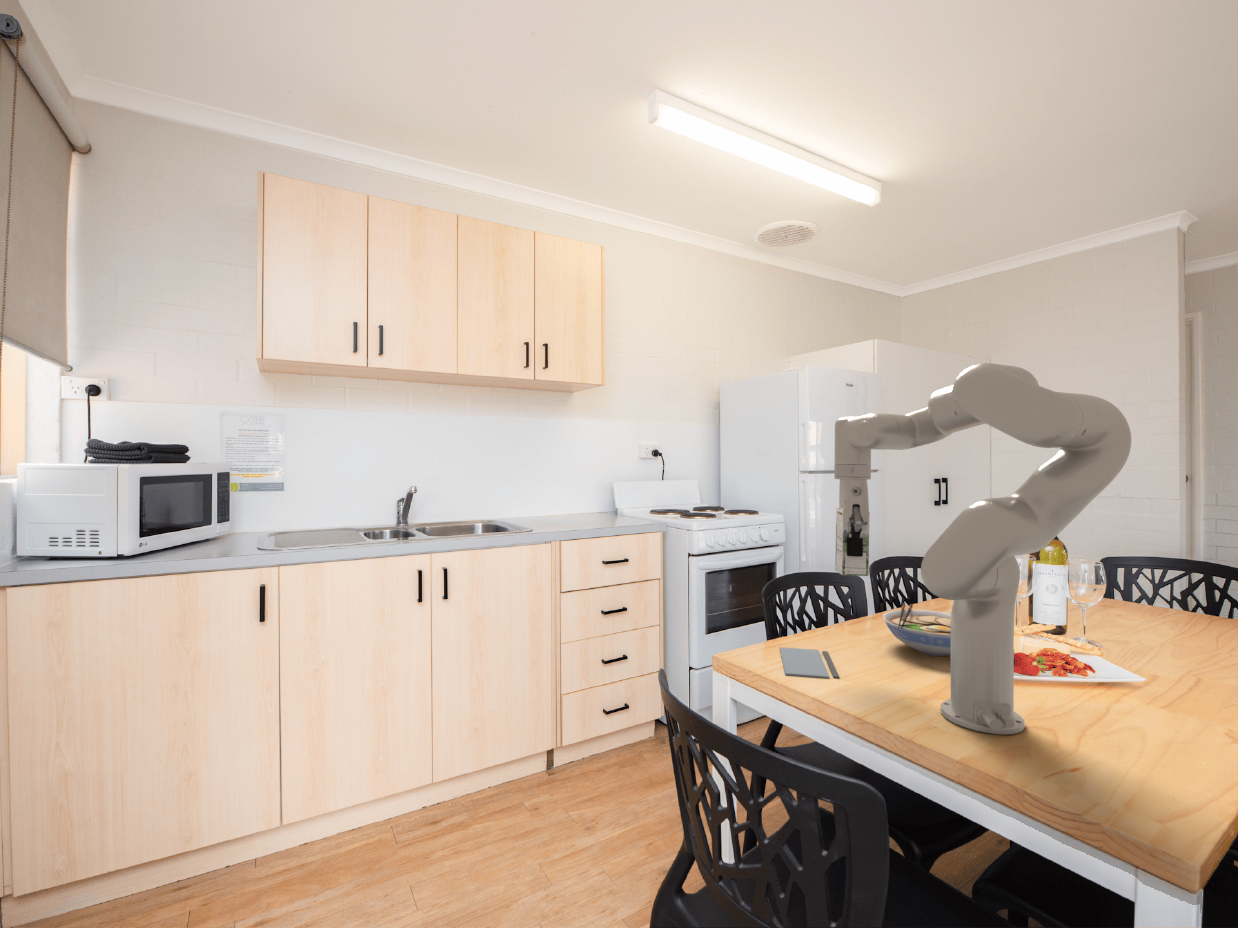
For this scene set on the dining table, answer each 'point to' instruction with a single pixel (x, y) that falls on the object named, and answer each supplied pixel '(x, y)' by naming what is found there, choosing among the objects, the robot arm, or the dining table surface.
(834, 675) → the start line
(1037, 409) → the robot arm
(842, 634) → the dining table surface
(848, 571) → the syrup box
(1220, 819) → the dining table surface
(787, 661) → the mat
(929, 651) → the ramen bowl
